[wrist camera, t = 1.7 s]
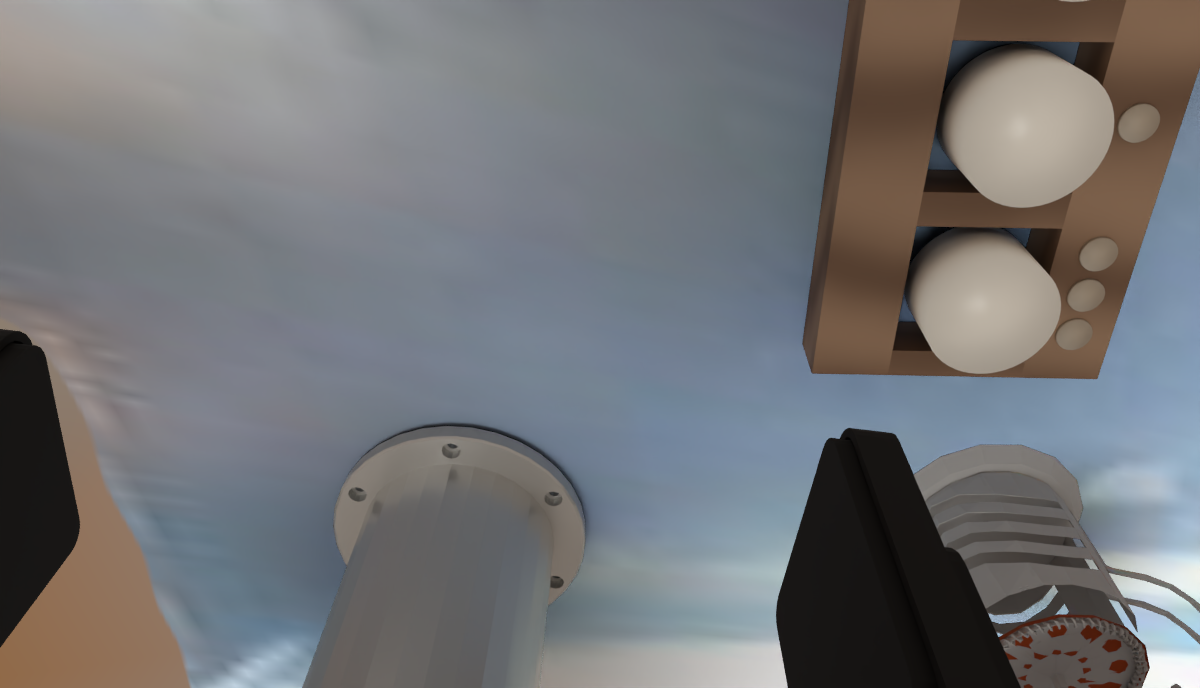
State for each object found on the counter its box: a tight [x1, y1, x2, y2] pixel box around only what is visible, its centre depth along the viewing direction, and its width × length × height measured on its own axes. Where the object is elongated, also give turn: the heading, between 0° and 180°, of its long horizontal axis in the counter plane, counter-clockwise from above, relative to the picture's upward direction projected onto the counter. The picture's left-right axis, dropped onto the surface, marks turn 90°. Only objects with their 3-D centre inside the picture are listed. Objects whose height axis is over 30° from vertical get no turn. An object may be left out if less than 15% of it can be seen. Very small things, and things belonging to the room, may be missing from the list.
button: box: [937, 44, 1114, 208], centre depth 33 cm, size 5×5×3 cm
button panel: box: [802, 0, 1200, 379], centre depth 35 cm, size 22×12×3 cm, turn 0°
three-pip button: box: [904, 227, 1061, 374], centre depth 37 cm, size 5×5×3 cm
